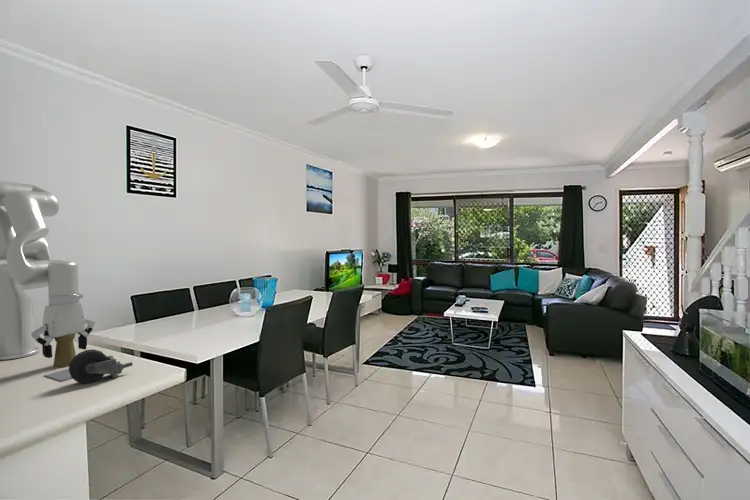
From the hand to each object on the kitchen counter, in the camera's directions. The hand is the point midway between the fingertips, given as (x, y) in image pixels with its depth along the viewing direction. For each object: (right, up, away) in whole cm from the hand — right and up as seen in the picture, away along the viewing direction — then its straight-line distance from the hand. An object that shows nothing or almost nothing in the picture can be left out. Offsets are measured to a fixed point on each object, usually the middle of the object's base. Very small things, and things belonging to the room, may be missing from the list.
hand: (65, 352), depth 125 cm
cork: (0, -4, 0) cm, 4 cm away
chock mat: (+8, -4, -7) cm, 11 cm away
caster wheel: (+20, -5, -11) cm, 23 cm away
